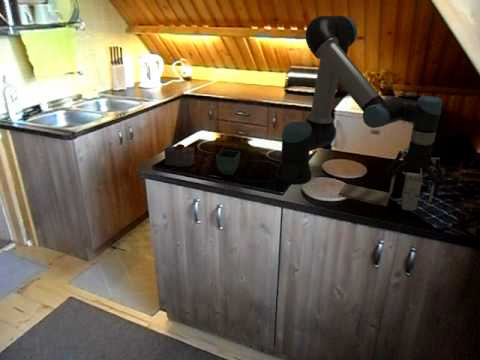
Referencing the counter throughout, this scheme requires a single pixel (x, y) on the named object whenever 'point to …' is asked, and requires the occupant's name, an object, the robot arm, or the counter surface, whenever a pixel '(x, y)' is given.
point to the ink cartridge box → (411, 190)
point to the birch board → (365, 194)
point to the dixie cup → (409, 168)
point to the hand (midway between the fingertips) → (409, 196)
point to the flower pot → (228, 161)
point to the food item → (179, 156)
